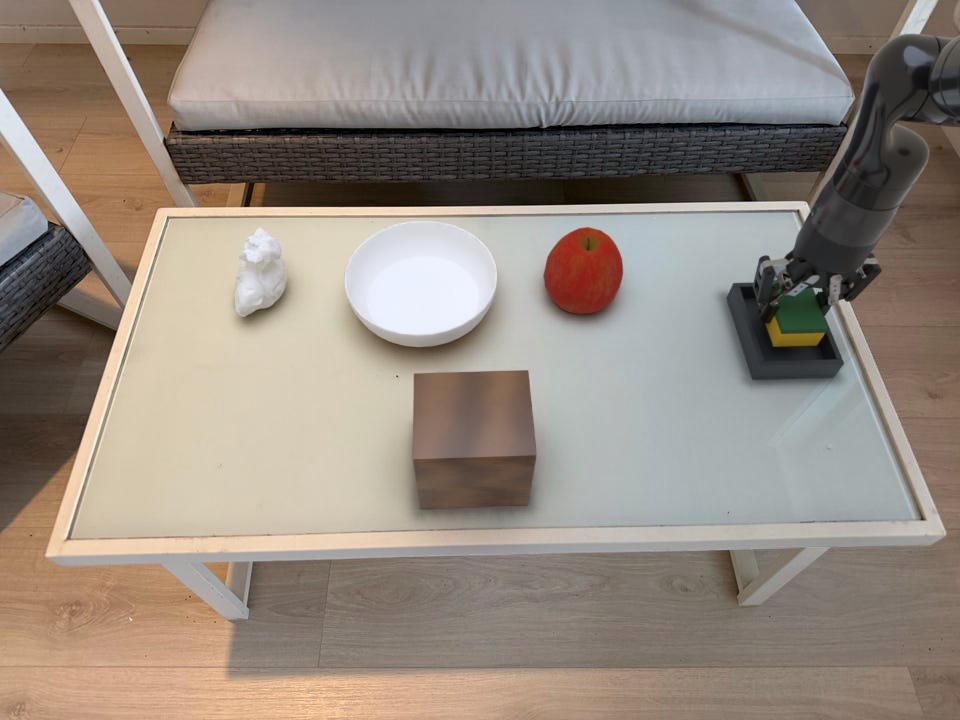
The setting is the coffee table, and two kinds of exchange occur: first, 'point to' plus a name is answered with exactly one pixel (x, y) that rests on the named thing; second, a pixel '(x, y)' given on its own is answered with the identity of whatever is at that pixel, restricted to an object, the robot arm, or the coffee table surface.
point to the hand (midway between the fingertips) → (788, 317)
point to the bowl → (421, 283)
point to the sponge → (797, 321)
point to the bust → (259, 274)
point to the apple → (583, 271)
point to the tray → (781, 359)
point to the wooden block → (473, 439)
